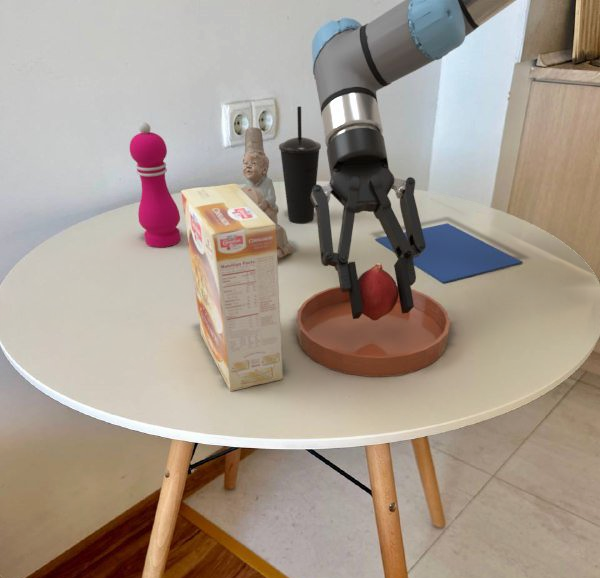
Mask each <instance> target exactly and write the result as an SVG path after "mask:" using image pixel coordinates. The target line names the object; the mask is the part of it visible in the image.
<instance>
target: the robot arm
mask: <svg viewBox="0 0 600 578" xmlns="http://www.w3.org/2000/svg"><path fill="white" fill-rule="evenodd" d="M516 1H517V0H403V1H402V2H399V3H398V4H396V5H395V6H393V7H392V8H390V9H389V10H387V11H386V12H384V13H382V14H381V15H379V16H378V17H376V18H375V19H373V20H371V21H370V22H367V23H365V24H363V25H362V24H361V23H360V22H359V21H357V20H356V19H354V18H352V17H351V18H350V17H341V18H340V19H339V20H334V19H332V20H330V21H328V22H325V23H324V24H323V25H322V26H321V27H319V29H318V30H317V31H316V32H315V34H314V36H313V39H312V42H311V56H312V58H311V59H312V74H313V77H314V80H315V86H316V92H317V96H318V102H319V108H320V116H321V123H322V129H323V136H324V142H325V146H326V157H327V161H328V167H329V174H330V180H329V183H327V184H324V185H320V184H316V185H314V187H313V189H312V193H311V198H310V199H311V201H312V203H313V205H314V211H315V212H316V213H315V214H316V221H317V223H316V224H317V233H318V234H317V235H318V243H319V253H320V263H321V264H322V266H324V267H328V266H330V267H334V270H335V271H336V272H337V276H338V283H339V286H340V289H341V291H342V293H343V292H349V297H350V304H351V310H352V316H353V319H358V318H359V317H360V316H361V315H362V313H363V307H362V301H361V295H360V289H359V283H358V279H359V278H358V277H359V276H358V271H357V265H356V261H349V257H350V252H351V245H352V237H353V231H354V224H355V216H356V214H359V213H362V212H367V213H373V214H374V218H375V219H377V220H378V221H379V223H380V225H381V228H382V230H383V232H384V233H385V236H387V237H388V240H389V242H390V244H391V246H392V248H393V250H394V252H393V253H394V254H395V256H396V257H397V260H396V262H395V263H394V265H393V268H394V274H395V282H396V285H397V286H398V292H399V298H400V304H401V310H402V314H403V313H408V312H409V311H410V310H411V309H412V308H413V307H414V303H413V298H412V292H411V289H412V288H411V287H412V286H413V285H414V284H415V283H416V280H417V274H416V269H415V268H416V267H415V265H414V263H413V258H415V257H418V256H419V255H420V254H421V253H422V251H423V250H424V249H425V247H426V244H425V240H424V236H423V232H422V229H423V228H422V223H421V219H420V215H419V211H418V206H417V203H416V198H415V189H416V180H415V178H414V177H411V176H410V177H407V178H406V180H405V179H400V178H395V176H394V174H393V173H392V172H391V170H390V167H389V160H388V154H387V149H386V144H385V138H384V136H383V131H384V130H383V126H382V119H381V115H380V111H379V109H380V108H379V103H378V102H379V101H378V96H377V91H379V90H381V89H383V88H385V87H387V86H390V85H391V84H392V83H394V82H396V81H398V80H400V79H402V78H404V77H405V76H408V75H409V74H412V73H414V72H416V71H417V70H419V69H421V68H423V67H426V66H427V65H429V64H431V63H433V62H435V61H438V60H441V59H443V58H444V57H446V56H447V55H448V54H449V53H450V52H452V51H454V50H456V49H458V48H459V47H460V46H461V45H463V43H464V42H465V39H466V37H467V36H468V35H470V34H472V33H473V32H475V31H476V29H478V28H479V27H481V26H482V25H483V24H485V23H486V22H488V21H489V20H490V19H492V18H494V17H495V16H496V15H497V14H499V13H501V12H502V11H503V10H505V9H506V8H508V7H509V6H510V5H512V4H513V3H515V2H516ZM391 190H393V191H394V192H395V196H396V198H397V199H398V200H399V208H400V212H401V217H402V220H403V225H404V229H405V231H404V230H403V228H402V226H401V224H400V222H399V220H398V218H397V216H396V214H395V211H394V210H393V207H392V202H391V200H390V198H389V196H388V195H389V194H390V192H391ZM331 195H332V196H333V197H334V198H335V199H336V200H337V201H338V202H339V203H340V204H341V205H342V206H343V210H342V217H341V226H340V233H339V240H338V245H337V246H338V247H337V252H334V245H333V235H332V234H333V233H332V225H331V214H330V206H329V202H330V200H331ZM404 232H406V234H407V238H408V240H407V238H406V236H405V234H404Z"/></svg>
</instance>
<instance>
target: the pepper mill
mask: <svg viewBox="0 0 600 578" xmlns="http://www.w3.org/2000/svg"><path fill="white" fill-rule="evenodd" d="M138 130H139V133H137V134H135V135H134V136H133V137H132V138H131V140H130V142H129V153H130V156H131V158H132V160H133V161H134V162H135V163H136V164H135V169H136V174H137V175H138V176H139V178H140V183H141V197H140V202H139V206H138V212H137V213H138V214H137V216H138V223H139V225H140V226H141V227H142V228H143V229H144V233H143V235H144V242H145V244H146V245H147V246H148V247H151V246H152V247H151V248H168V247H167V246H169V247H172V246H174V244H175V245H177V244H178V243H180V241H181V234H180V233H181V232H180V230H179V228H177V227H178V225H179V223H180V221H181V215H180V214H181V213H180V210H179V208H178V205H177V204H176V202H175V200H174V198H173V196H172V195H171V193H170V190H169V188H168V184H167V180H166V173H167V172H168V169H167V167H166V166H167V163H166V162H165V161H164V160H165V159H166V156H167V154H168V150H167V144H166V142H165V140H164V139H163V137H161V135H159V134H157V133H155V132H151V126H150V124H149V123H148V122H141V123H140V124H139V126H138ZM176 243H177V244H176ZM171 245H172V246H171Z"/></svg>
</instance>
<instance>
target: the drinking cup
mask: <svg viewBox="0 0 600 578" xmlns="http://www.w3.org/2000/svg"><path fill="white" fill-rule="evenodd" d="M296 111H297V114H296V115H297V136H296V137H292V138H289V139H286V140H285V141H283V142H281V143H280V144H278V150H279V151H280V156H281V164H282V167H281V168H282V175H283V182H284V191H285V200H286V207H287V208H286V209H287V216H288V221H289V222H291V223H293V224H307V223H311V222H312V221H313V220H314V215H315V207H314V205H313V203H312V201H311V199H310V198H311V193H312V189H313V187H314V185H317V180H318V171H319V170H318V169H319V158H320V150H321V148H322V145H321V143H320V142H317V141H315V140H314V139H312V138H308V137H302V136H303V135H302V133H303V131H302V106H297V108H296Z"/></svg>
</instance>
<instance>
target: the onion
mask: <svg viewBox="0 0 600 578" xmlns="http://www.w3.org/2000/svg"><path fill="white" fill-rule="evenodd" d="M358 277H359V278H358V283H359V289H360V295H361V301H362V307H363V313H362V314H364V315H365V316H367V317H369V318H370V319H371V320H378V319H380V318H381V317H383V316H384V315H386V314H388V313H389V312H390V311H392V309H393V308H394V306H395V305H396V303H397V300H398V289H397V281H396V280H395V279H394V277H393V276H392V275H391V274H390V273H389V272H387V271H386V270H384V269H383V265H382V263H381V262H378V263H375V264H374V265H373V266H371V267H370V268H368V269H367V270H365V271H364V272H363V273H362V274H361V275H360V276H358Z"/></svg>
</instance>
